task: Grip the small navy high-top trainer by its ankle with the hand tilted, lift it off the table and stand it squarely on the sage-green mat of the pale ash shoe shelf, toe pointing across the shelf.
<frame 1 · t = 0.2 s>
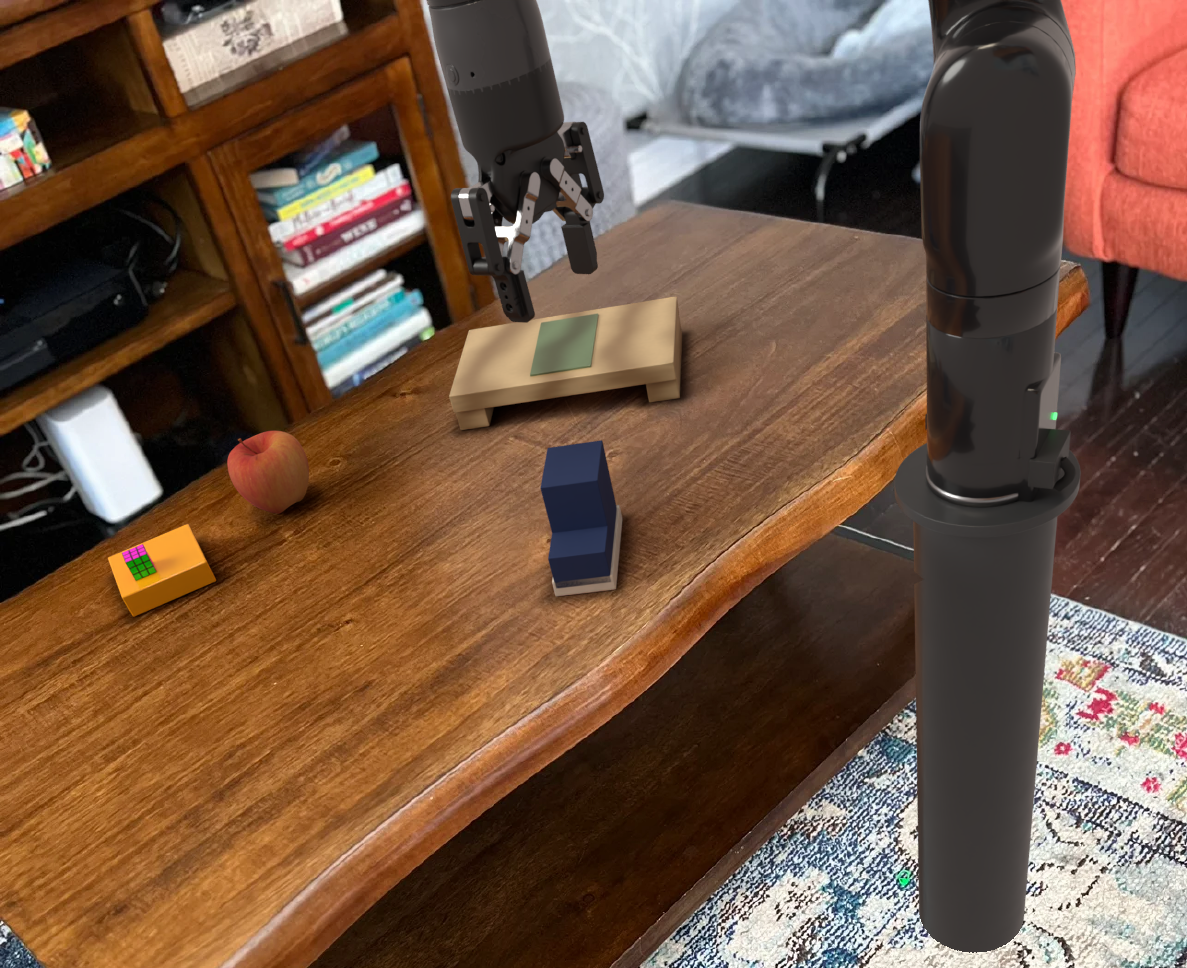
hand: (555, 295, 96), 18 cm above the table, tool pointing down, fingers open, 8 cm apart
shoe shelf: (573, 382, 124), on the table
orange rectangular box: (167, 580, 113), on the table
apple: (285, 506, 119), on the table
trainer: (591, 546, 103), on the table
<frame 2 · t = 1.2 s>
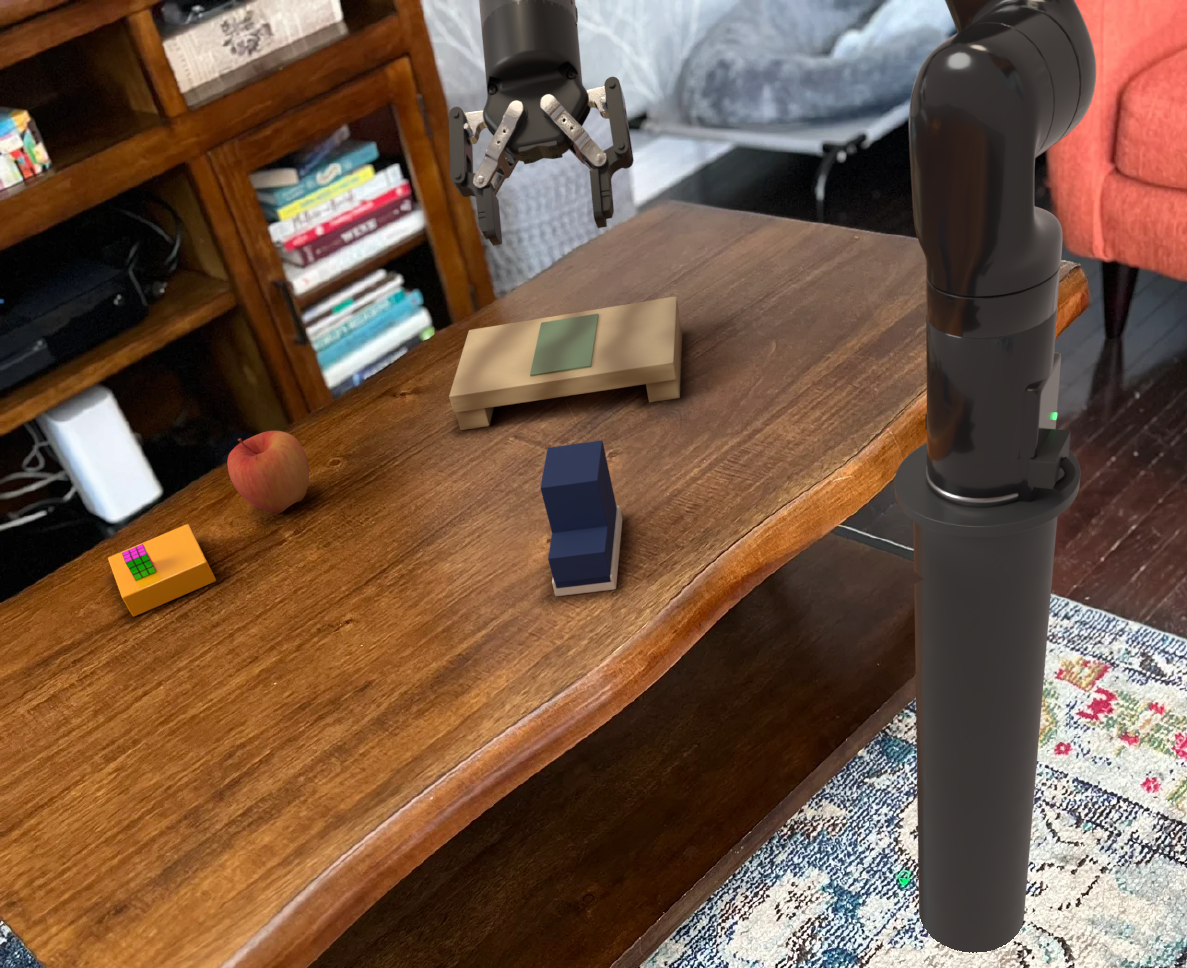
hand: (547, 232, 96), 22 cm above the table, tool tilted 45°, fingers open, 8 cm apart
nothing on the table moved.
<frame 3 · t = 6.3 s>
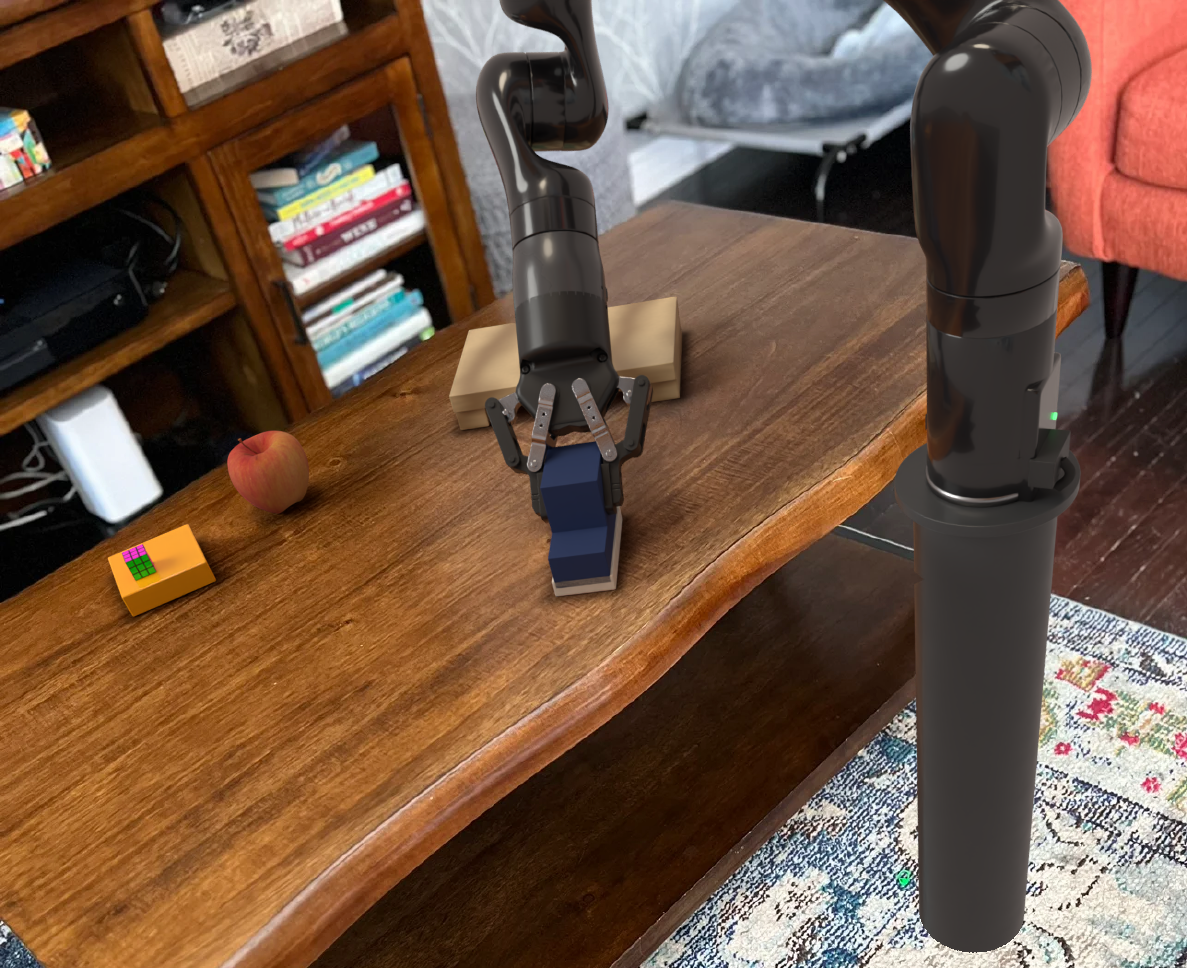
hand: (579, 515, 99), 4 cm above the table, tool tilted 45°, fingers closed on trainer, 4 cm apart
trainer: (591, 546, 103), on the table, touching gripper
everything else where it was.
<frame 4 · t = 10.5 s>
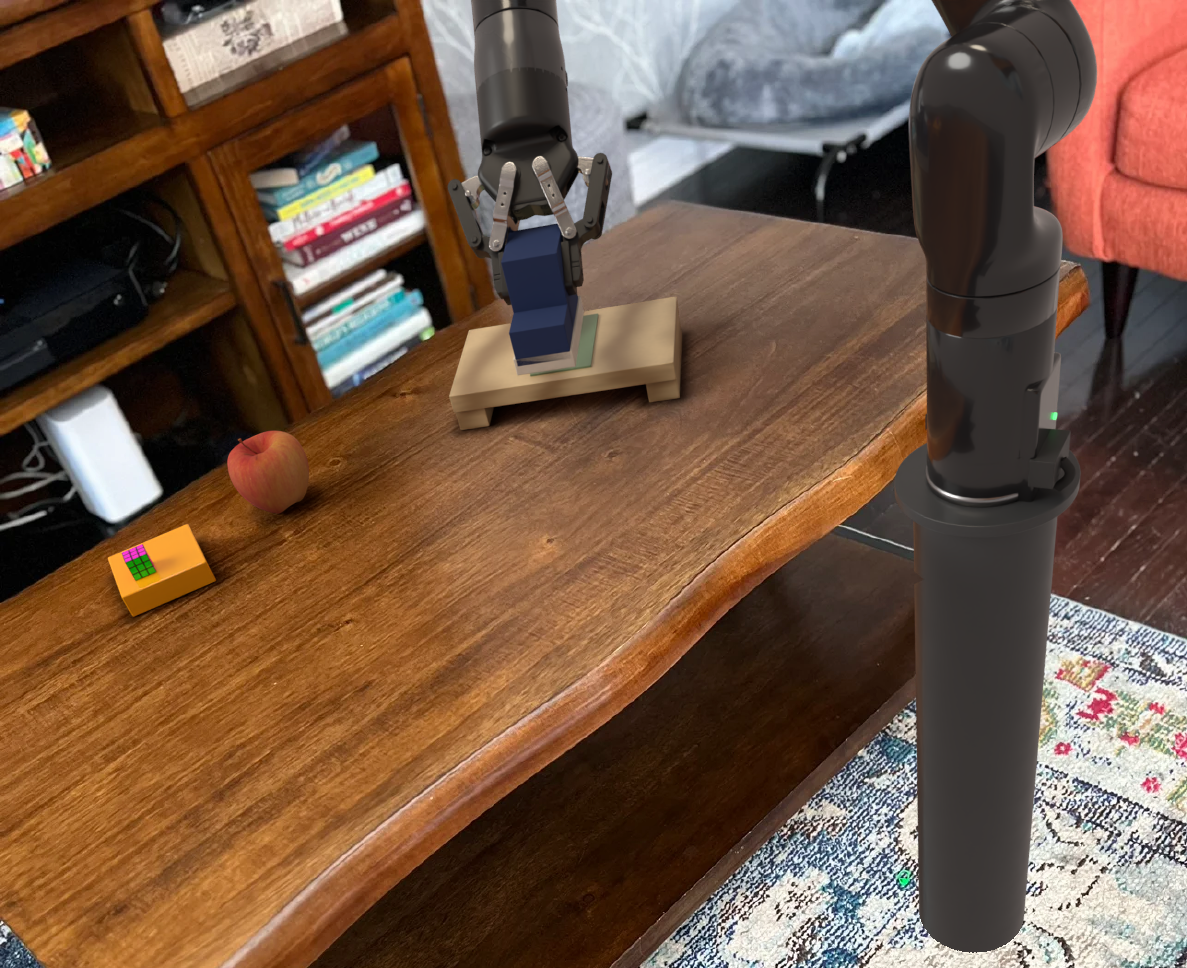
hand: (540, 295, 101), 16 cm above the table, tool tilted 45°, fingers closed on trainer, 4 cm apart
trainer: (553, 334, 106), point 12 cm above the table, touching gripper
everything else where it was.
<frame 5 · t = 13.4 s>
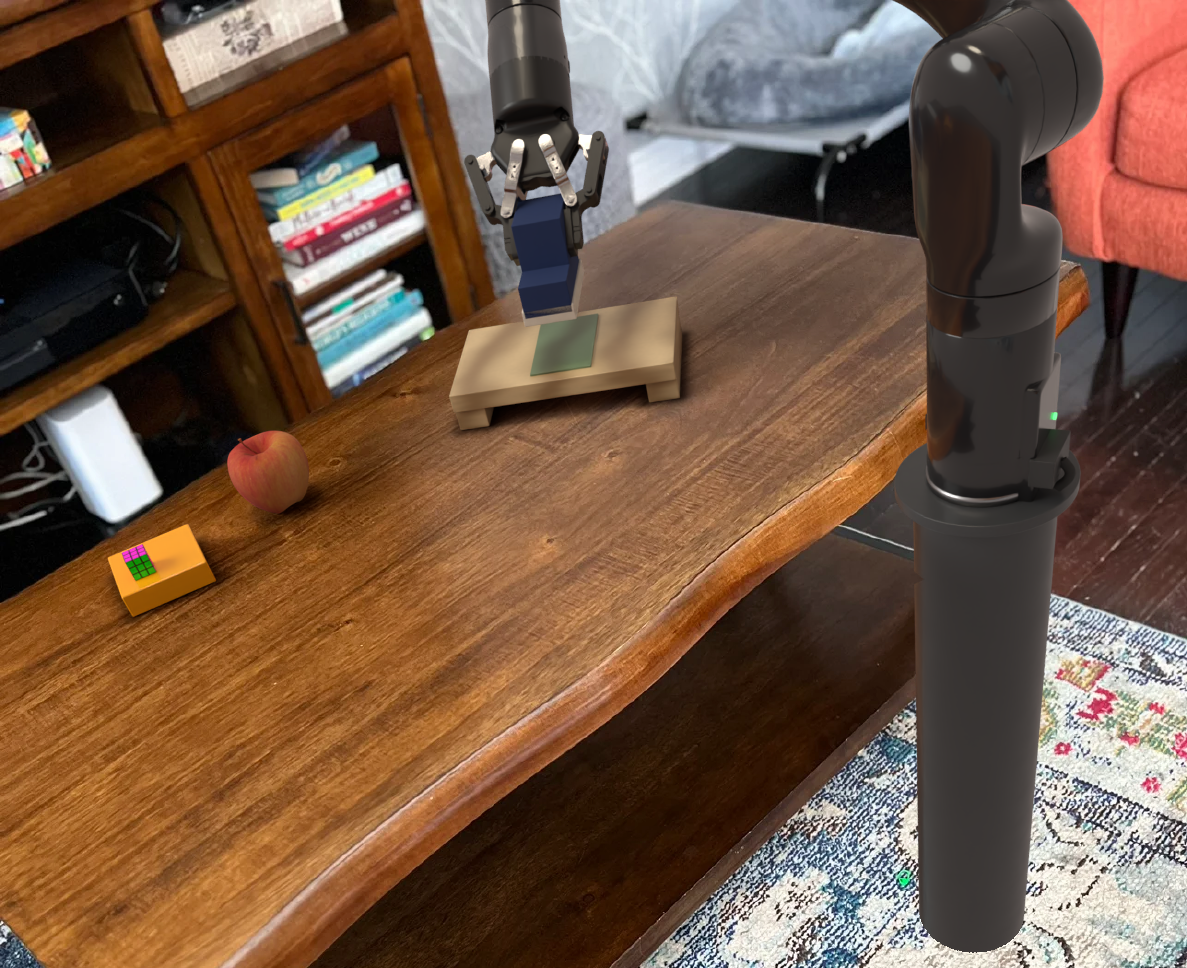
hand: (545, 257, 115), 13 cm above the table, tool tilted 45°, fingers closed on trainer, 4 cm apart
trainer: (556, 292, 120), point 9 cm above the table, touching gripper
everything else where it was.
when the fingers open (9 cm above the table, at t = 15.1 s): trainer stays where it is, resting on shoe shelf.
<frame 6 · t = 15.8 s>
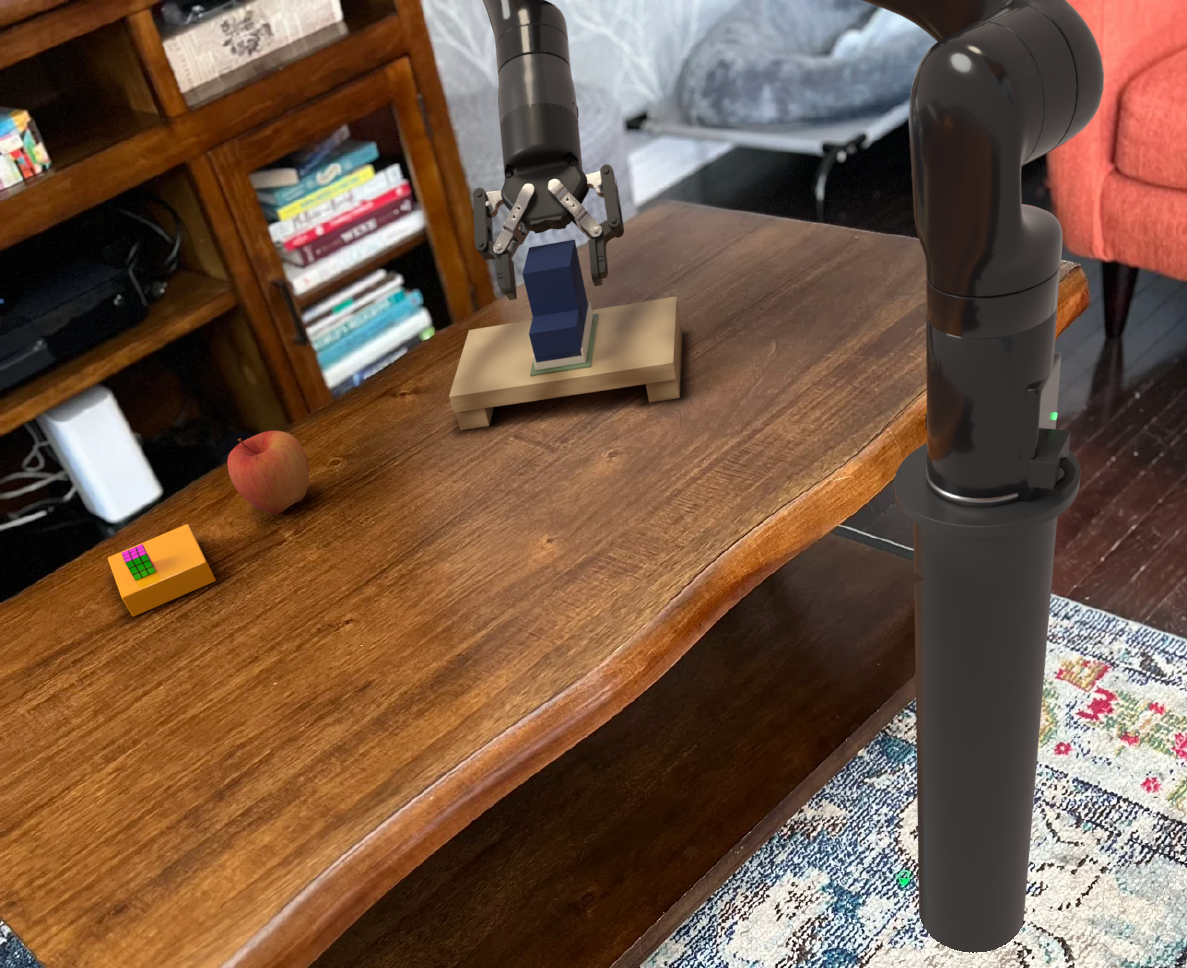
hand: (554, 290, 118), 10 cm above the table, tool tilted 45°, fingers open, 8 cm apart
trainer: (566, 335, 123), point 4 cm above the table, touching shoe shelf
everything else where it was.
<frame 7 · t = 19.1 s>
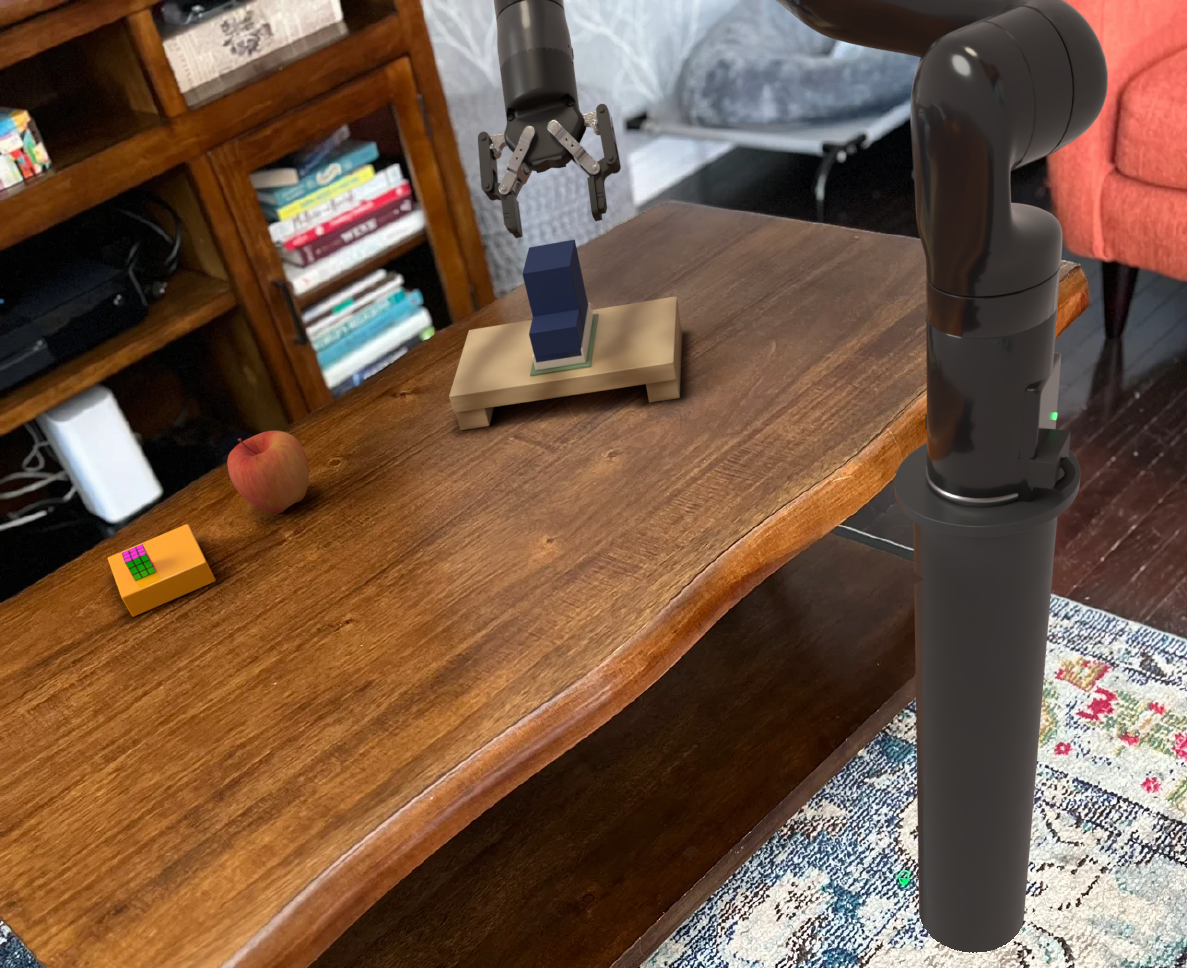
hand: (557, 227, 126), 11 cm above the table, tool tilted 40°, fingers open, 8 cm apart
nothing on the table moved.
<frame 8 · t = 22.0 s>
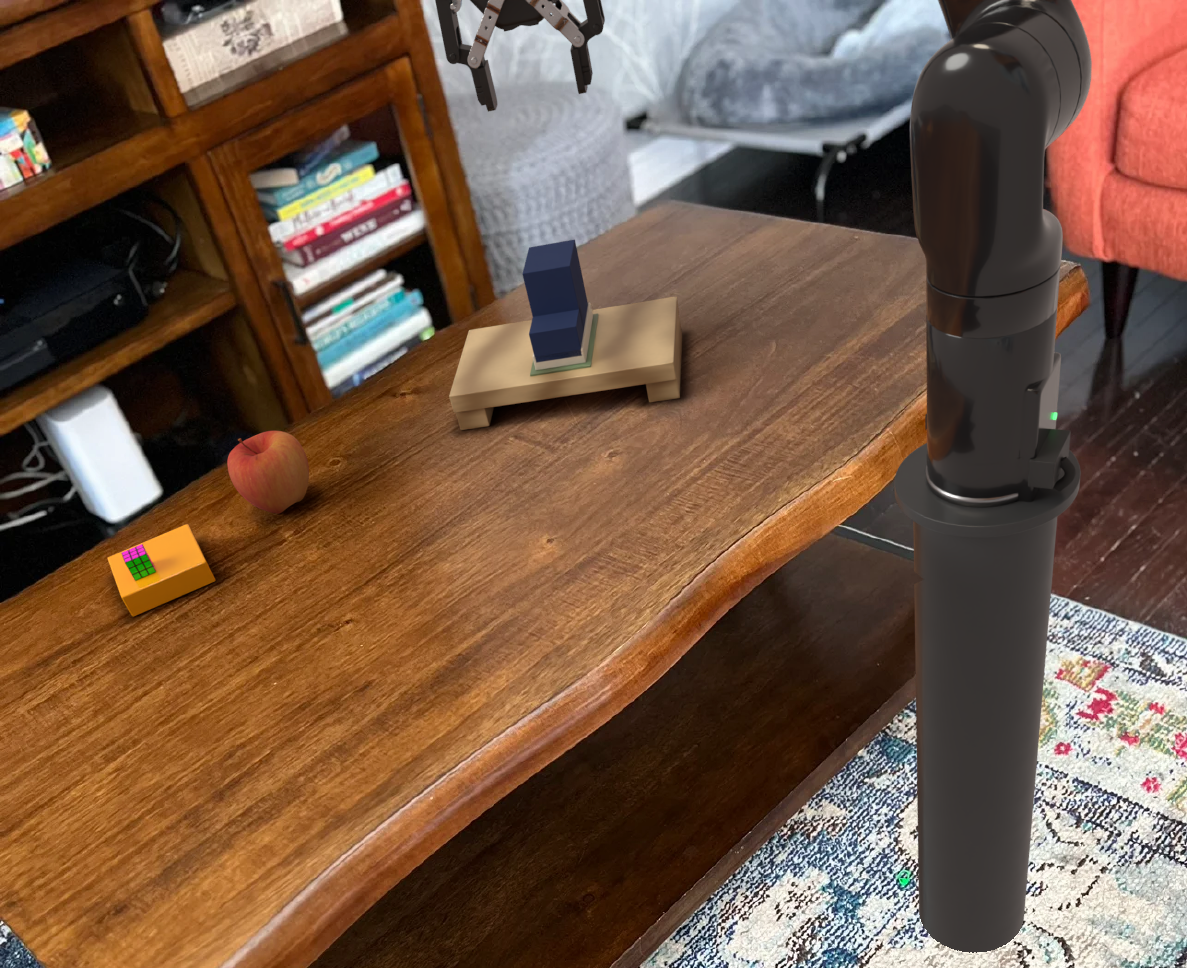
hand: (538, 99, 112), 24 cm above the table, tool pointing down, fingers open, 8 cm apart
nothing on the table moved.
at the end: trainer 0.3 cm from the target spot on the shoe shelf, point 4.2 cm above the shoe shelf's base; trainer tilted 0°; the gripper is holding nothing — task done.
